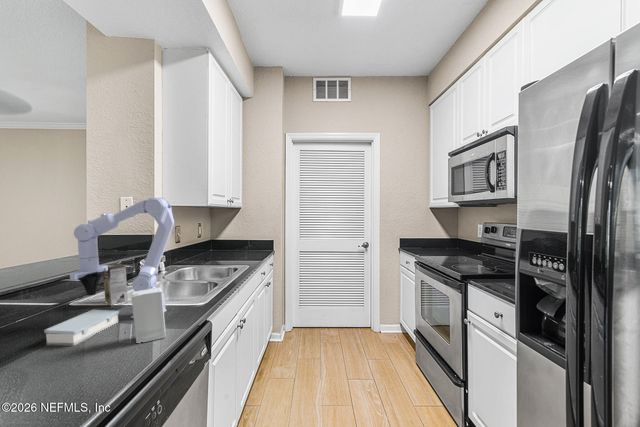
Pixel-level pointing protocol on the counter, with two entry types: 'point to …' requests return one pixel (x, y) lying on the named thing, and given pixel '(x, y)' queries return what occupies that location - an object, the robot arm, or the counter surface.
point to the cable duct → (80, 333)
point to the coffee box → (115, 284)
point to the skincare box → (148, 315)
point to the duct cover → (81, 322)
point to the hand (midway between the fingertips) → (91, 294)
